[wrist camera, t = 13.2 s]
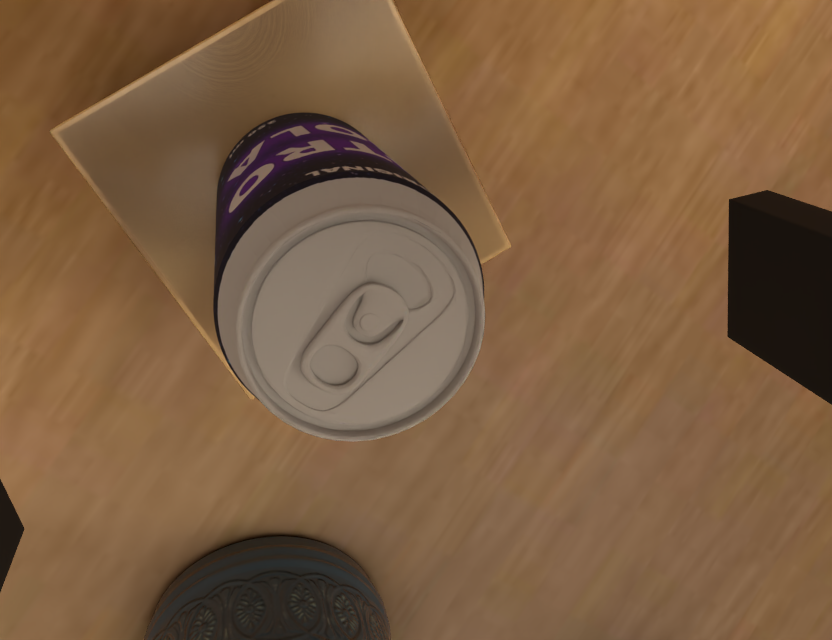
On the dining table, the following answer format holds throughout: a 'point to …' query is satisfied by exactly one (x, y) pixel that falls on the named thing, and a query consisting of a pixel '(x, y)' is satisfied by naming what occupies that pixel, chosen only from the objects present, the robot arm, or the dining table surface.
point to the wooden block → (249, 107)
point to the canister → (271, 596)
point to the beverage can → (341, 282)
